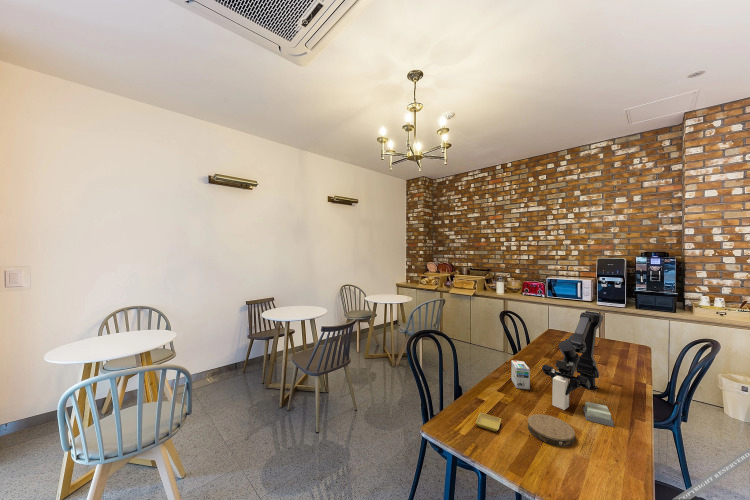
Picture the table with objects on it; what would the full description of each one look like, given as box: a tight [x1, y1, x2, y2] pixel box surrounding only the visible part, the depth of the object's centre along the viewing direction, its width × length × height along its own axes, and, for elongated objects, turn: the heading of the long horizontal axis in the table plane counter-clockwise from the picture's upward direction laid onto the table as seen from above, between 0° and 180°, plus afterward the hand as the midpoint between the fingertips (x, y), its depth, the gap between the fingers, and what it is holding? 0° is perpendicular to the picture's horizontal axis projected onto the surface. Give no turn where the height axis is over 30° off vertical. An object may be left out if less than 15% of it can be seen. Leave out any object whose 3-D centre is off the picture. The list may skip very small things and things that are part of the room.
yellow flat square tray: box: [475, 412, 502, 432], centre depth 118 cm, size 9×9×2 cm
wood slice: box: [527, 413, 576, 448], centre depth 113 cm, size 16×16×3 cm
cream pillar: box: [551, 376, 570, 411], centre depth 133 cm, size 5×5×12 cm
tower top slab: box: [584, 401, 612, 421], centre depth 123 cm, size 8×8×2 cm
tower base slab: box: [583, 405, 615, 428], centre depth 123 cm, size 9×9×2 cm
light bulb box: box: [510, 360, 531, 390], centre depth 154 cm, size 11×7×11 cm, turn 168°
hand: (559, 392), depth 132 cm, fingers closed on cream pillar, 5 cm apart
